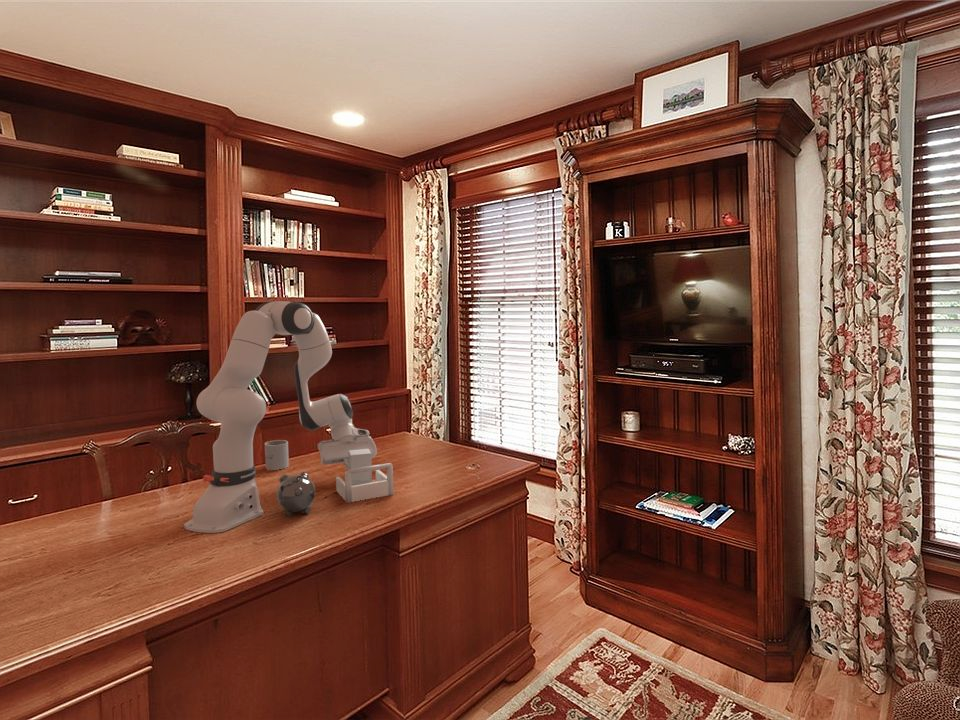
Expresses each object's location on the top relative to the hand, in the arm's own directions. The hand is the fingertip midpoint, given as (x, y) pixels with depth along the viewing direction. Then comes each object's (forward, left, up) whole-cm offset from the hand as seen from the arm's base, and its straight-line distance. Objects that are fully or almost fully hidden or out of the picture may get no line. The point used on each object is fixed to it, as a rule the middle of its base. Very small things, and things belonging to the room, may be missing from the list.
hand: (353, 470), depth 190 cm
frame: (-8, -8, -5) cm, 12 cm away
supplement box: (-3, -4, -5) cm, 7 cm away
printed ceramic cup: (+11, +40, -5) cm, 42 cm away
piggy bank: (-29, +4, -5) cm, 29 cm away
